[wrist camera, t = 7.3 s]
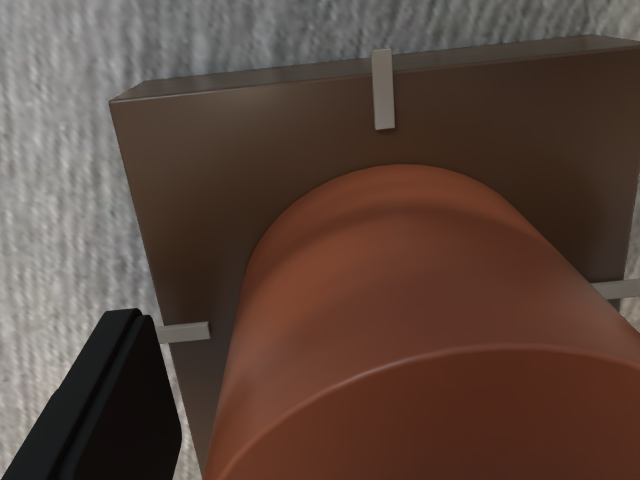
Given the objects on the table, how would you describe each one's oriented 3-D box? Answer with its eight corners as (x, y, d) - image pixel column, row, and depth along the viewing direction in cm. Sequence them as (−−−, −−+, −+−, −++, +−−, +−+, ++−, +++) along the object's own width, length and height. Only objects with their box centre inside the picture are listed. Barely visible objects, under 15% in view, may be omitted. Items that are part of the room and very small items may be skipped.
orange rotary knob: (272, 446, 13) (251, 786, 8) (207, 193, 11) (98, 424, 5) (545, 407, 13) (734, 728, 7) (548, 137, 10) (846, 312, 5)
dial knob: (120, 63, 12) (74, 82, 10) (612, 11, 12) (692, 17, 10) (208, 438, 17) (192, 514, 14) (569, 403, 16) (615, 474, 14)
